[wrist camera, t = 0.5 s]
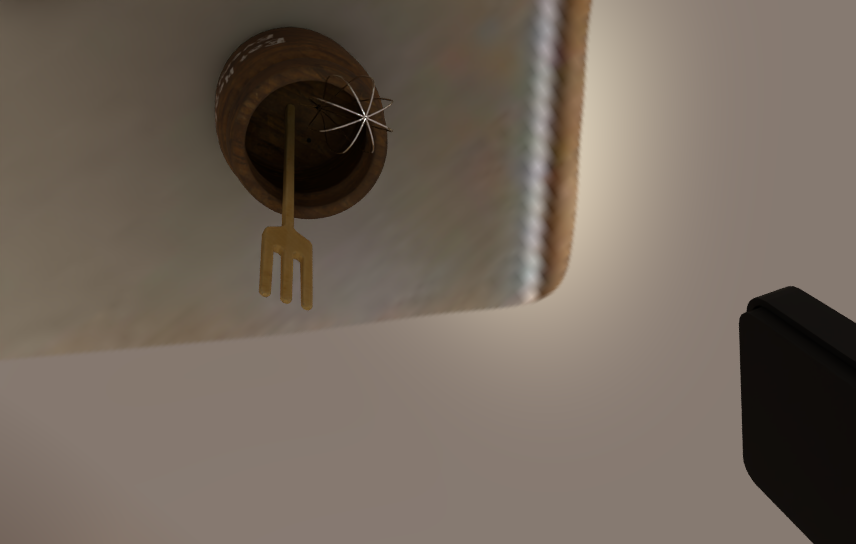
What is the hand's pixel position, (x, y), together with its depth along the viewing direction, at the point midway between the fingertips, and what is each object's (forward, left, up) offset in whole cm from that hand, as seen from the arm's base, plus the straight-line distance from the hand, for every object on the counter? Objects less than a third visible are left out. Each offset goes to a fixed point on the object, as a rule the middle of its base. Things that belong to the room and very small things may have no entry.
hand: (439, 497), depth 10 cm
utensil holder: (0, 0, -23) cm, 23 cm away
